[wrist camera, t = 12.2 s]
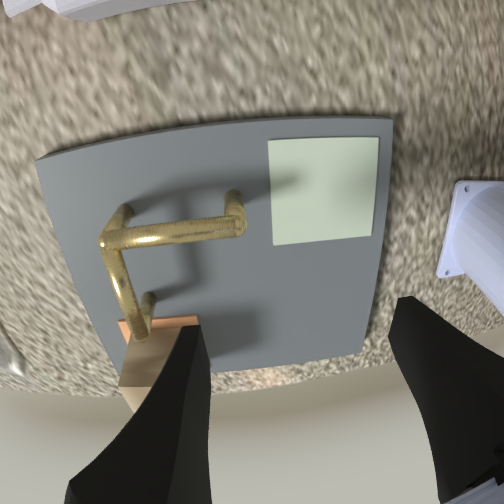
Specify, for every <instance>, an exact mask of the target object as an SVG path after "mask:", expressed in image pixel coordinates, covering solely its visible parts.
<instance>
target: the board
mask: <svg viewBox="0 0 504 504" xmlns="http://www.w3.org/2000/svg"><path fill="white" fill-rule="evenodd" d="M392 140H393V120H392V119H389V118H386V117H383V116H344V115H329V116H289V117H270V118H255V119H243V120H232V121H222V122H213V123H204V124H196V125H189V126H182V127H175V128H168V129H162V130H156V131H150V132H144V133H139V134H133V135H128V136H123V137H118V138H113V139H109V140H104V141H100V142H95V143H91V144H87V145H82V146H78V147H74V148H70V149H67V150H63V151H59V152H55V153H52V154H48V155H45V156H43V157H41V158H39V159H38V160H36V161H34V162H35V166H36V170H37V174H38V178H39V181H40V185H41V189H42V192H43V196H44V199H45V203H46V206H47V209H48V212H49V216H50V219H51V222H52V225H53V228H54V231H55V234H56V237H57V239H58V242H59V245H60V248H61V251H62V253H63V256H64V259H65V261H66V264H67V266H68V269H69V272H70V274H71V277H72V279H73V281H74V284H75V286H76V289H77V291H78V293H79V296H80V298H81V300H82V302H83V305H84V307H85V309H86V311H87V313H88V316H89V318H90V320H91V322H92V324H93V326H94V328H95V330H96V332H97V334H98V336H99V338H100V340H101V342H102V344H103V346H104V348H105V350H106V352H107V354H108V356H109V358H110V360H111V361H112V363H113V365H114V367H115V369H116V371H117V372H118V374H119V376H120V375H121V371H122V366H123V362H124V358H125V354H126V350H127V346H128V342H129V338H130V334H131V332H130V330H129V328H128V325H127V323H126V320H125V318H124V315H123V313H122V310H121V308H120V305H119V303H118V300H117V297H116V295H115V292H114V289H113V287H112V284H111V281H110V278H109V275H108V273H107V270H106V267H105V264H104V261H103V258H102V255H101V252H100V249H99V246H98V237H99V235H100V233H101V232H102V230H103V229H104V227H105V226H106V224H107V223H108V221H109V220H110V218H111V217H112V215H113V214H114V212H115V211H116V209H117V208H118V207H119V205H121V204H128V205H130V206H131V207H132V208H133V211H134V215H133V217H132V219H131V221H130V222H129V224H128V226H127V227H134V226H142V225H150V224H158V223H166V222H174V221H182V220H191V219H199V218H208V217H217V216H224V195H225V193H226V192H228V191H229V190H237V191H239V192H240V193H241V194H242V197H243V203H244V209H245V215H246V221H247V230H246V232H245V233H244V234H243V235H242V236H240V237H236V238H226V239H217V240H208V241H198V242H189V243H180V244H171V245H162V246H154V247H145V248H136V249H128V250H121V251H122V254H123V258H124V261H125V264H126V267H127V270H128V274H129V277H130V280H131V283H132V286H133V289H134V292H135V295H136V298H137V301H138V304H139V305H140V301H141V298H142V295H143V293H145V292H152V293H154V294H155V295H156V297H157V302H156V306H155V311H154V315H153V320H152V325H151V329H154V328H171V327H182V326H187V325H201V329H202V333H203V337H204V341H205V346H206V350H207V353H208V357H209V361H210V373H216V372H228V371H239V370H249V369H258V368H266V367H274V366H282V365H290V364H297V363H303V362H310V361H316V360H322V359H328V358H334V357H340V356H345V355H350V354H356V353H361V352H362V347H363V343H364V339H365V335H366V330H367V326H368V321H369V316H370V312H371V307H372V302H373V297H374V291H375V286H376V280H377V275H378V269H379V263H380V256H381V250H382V243H383V236H384V228H385V221H386V212H387V203H388V194H389V183H390V171H391V158H392Z"/></svg>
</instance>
